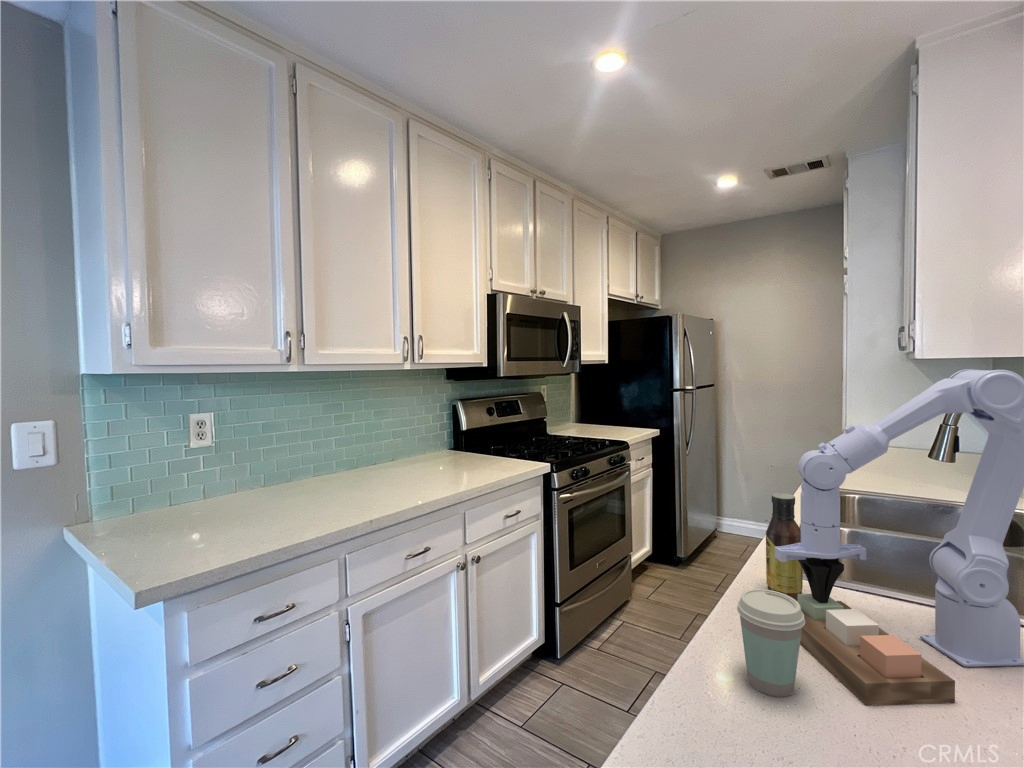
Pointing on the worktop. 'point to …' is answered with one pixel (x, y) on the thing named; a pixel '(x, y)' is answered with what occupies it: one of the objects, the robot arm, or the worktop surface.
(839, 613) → the cream button
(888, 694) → the walnut button board
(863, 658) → the terracotta button
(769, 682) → the coffee cup
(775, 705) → the worktop surface
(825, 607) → the sage green button
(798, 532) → the sauce bottle
